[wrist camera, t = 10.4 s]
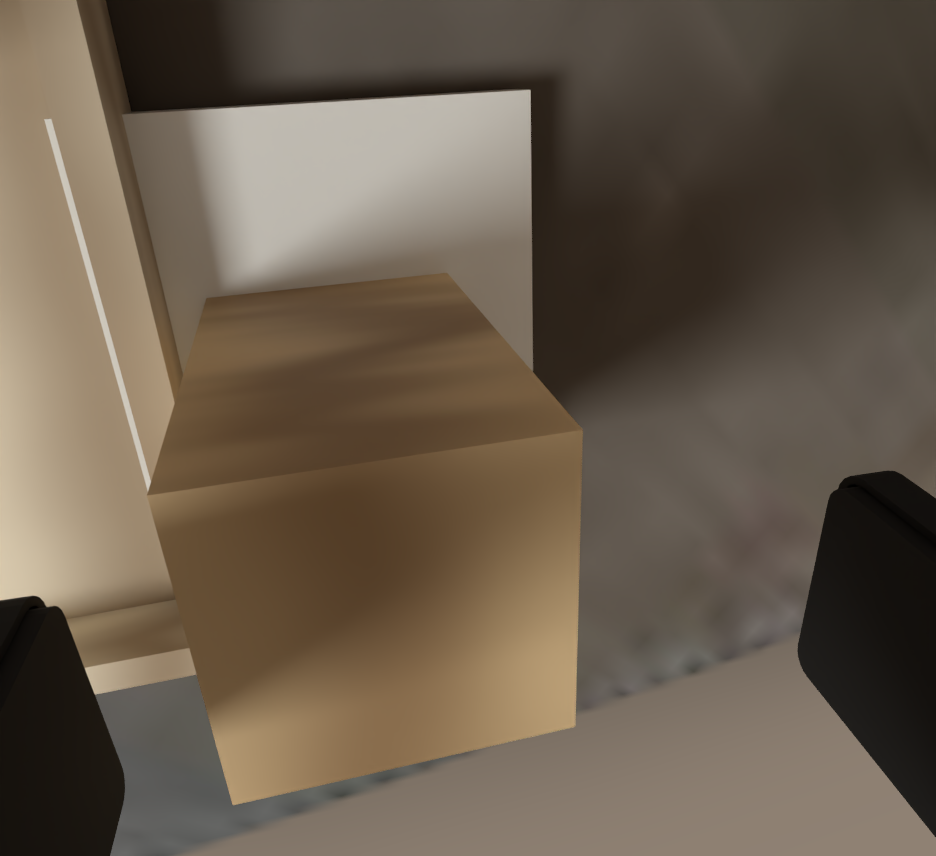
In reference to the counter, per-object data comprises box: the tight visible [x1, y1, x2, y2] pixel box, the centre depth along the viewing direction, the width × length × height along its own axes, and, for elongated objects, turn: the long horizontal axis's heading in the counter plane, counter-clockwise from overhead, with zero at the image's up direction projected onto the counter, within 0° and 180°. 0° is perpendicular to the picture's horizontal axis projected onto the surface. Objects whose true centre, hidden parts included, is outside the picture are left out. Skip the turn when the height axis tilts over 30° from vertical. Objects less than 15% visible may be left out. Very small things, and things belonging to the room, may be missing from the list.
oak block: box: [147, 273, 583, 805], centre depth 13 cm, size 5×5×8 cm
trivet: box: [44, 89, 533, 490], centre depth 17 cm, size 9×12×1 cm
